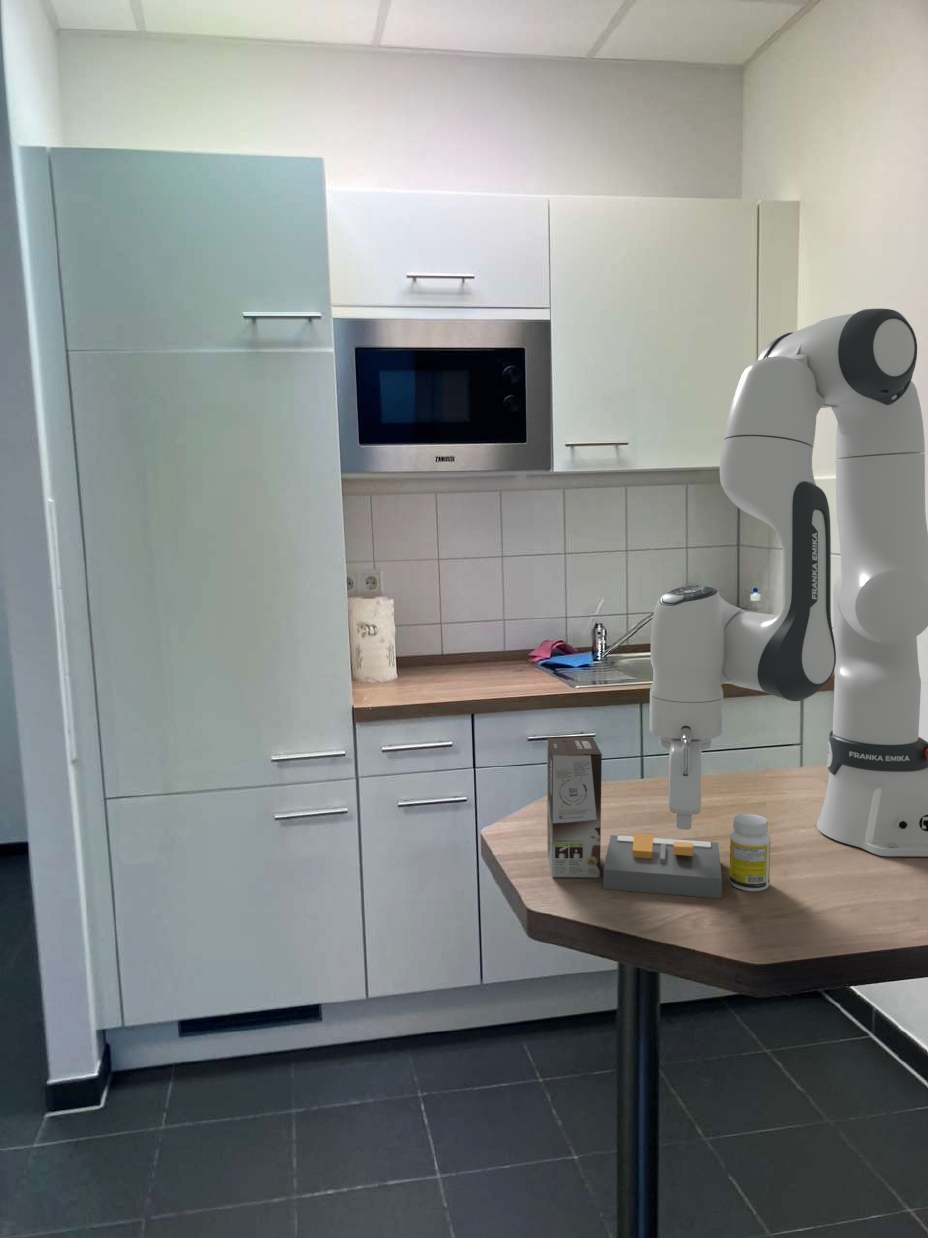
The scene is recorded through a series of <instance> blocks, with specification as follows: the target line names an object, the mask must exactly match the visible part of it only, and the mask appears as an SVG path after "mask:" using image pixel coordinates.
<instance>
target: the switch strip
mask: <svg viewBox="0 0 928 1238" xmlns="http://www.w3.org/2000/svg"><path fill="white" fill-rule="evenodd" d="M608 841H609V842H608V847H607V852H606V856H605V861H604V865H603V875H602V876H603V878H602V879H603V883H602V884H603V888H602V889H603V890H604V889H605V890H612V891H613V890H614V891H627V892H628V891H629V892H637V893H638V892H639V893H649V894H650V893H651V894H661V895H662V894H663V895H674V896H684V897H685V896H686V897H696V898H697V897H699V898H708V899H709V898H710V899H722V898H723V896H722V891H723V890H722V889H723V887H722V886H723V877H722V867H721V866H722V865H721V858H720V857H721V856H720V848H719V842H715V841H714V842H713V841H712V842H711V841H705V840H704V841H701V840H690V839H687V840H685V839H673V838H662V837H661V838H659V837H653V851H652V859H650V858H636V857H633V841H634V835H633V836H630V835H616V834H614V835H613V834H611V835H610V838H609V840H608ZM674 842H687V843H693V856H687V855H674V854H673V848H674Z"/></svg>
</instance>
